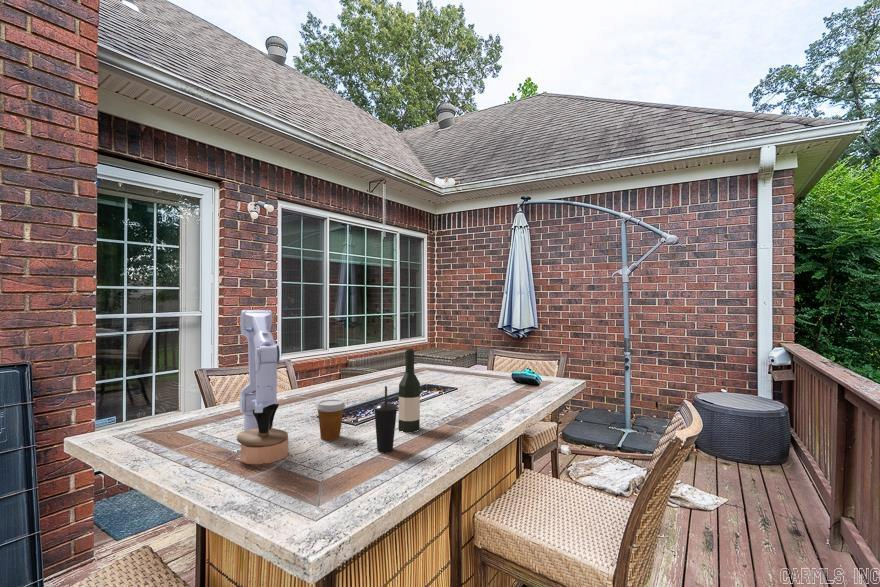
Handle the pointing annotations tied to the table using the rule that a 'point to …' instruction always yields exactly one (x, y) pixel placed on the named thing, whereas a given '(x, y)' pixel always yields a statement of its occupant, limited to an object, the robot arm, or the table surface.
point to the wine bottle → (409, 397)
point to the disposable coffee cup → (330, 418)
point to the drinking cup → (385, 424)
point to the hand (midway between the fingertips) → (265, 431)
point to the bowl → (263, 453)
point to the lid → (262, 437)
